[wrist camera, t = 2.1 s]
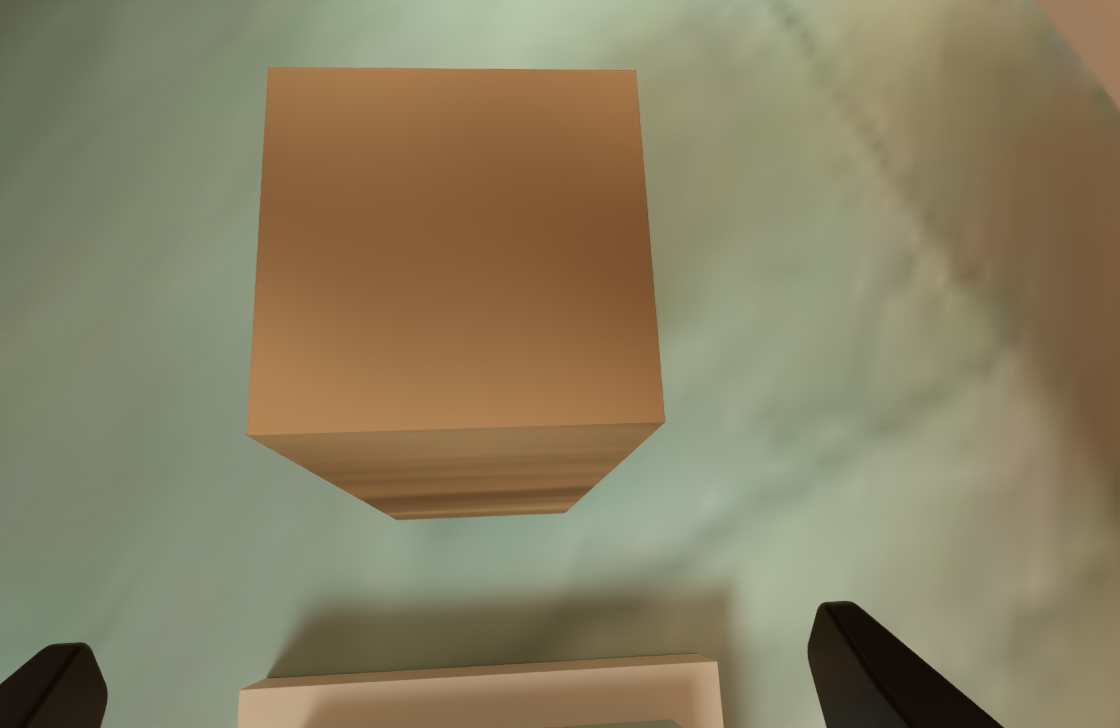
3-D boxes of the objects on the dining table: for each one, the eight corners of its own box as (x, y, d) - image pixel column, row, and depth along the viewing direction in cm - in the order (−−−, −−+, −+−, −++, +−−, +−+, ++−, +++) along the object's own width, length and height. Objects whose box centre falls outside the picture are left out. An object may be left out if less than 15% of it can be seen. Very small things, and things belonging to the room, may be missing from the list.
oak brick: (564, 512, 21) (665, 422, 9) (396, 520, 21) (246, 435, 8) (557, 353, 22) (636, 70, 10) (397, 357, 22) (267, 67, 9)
